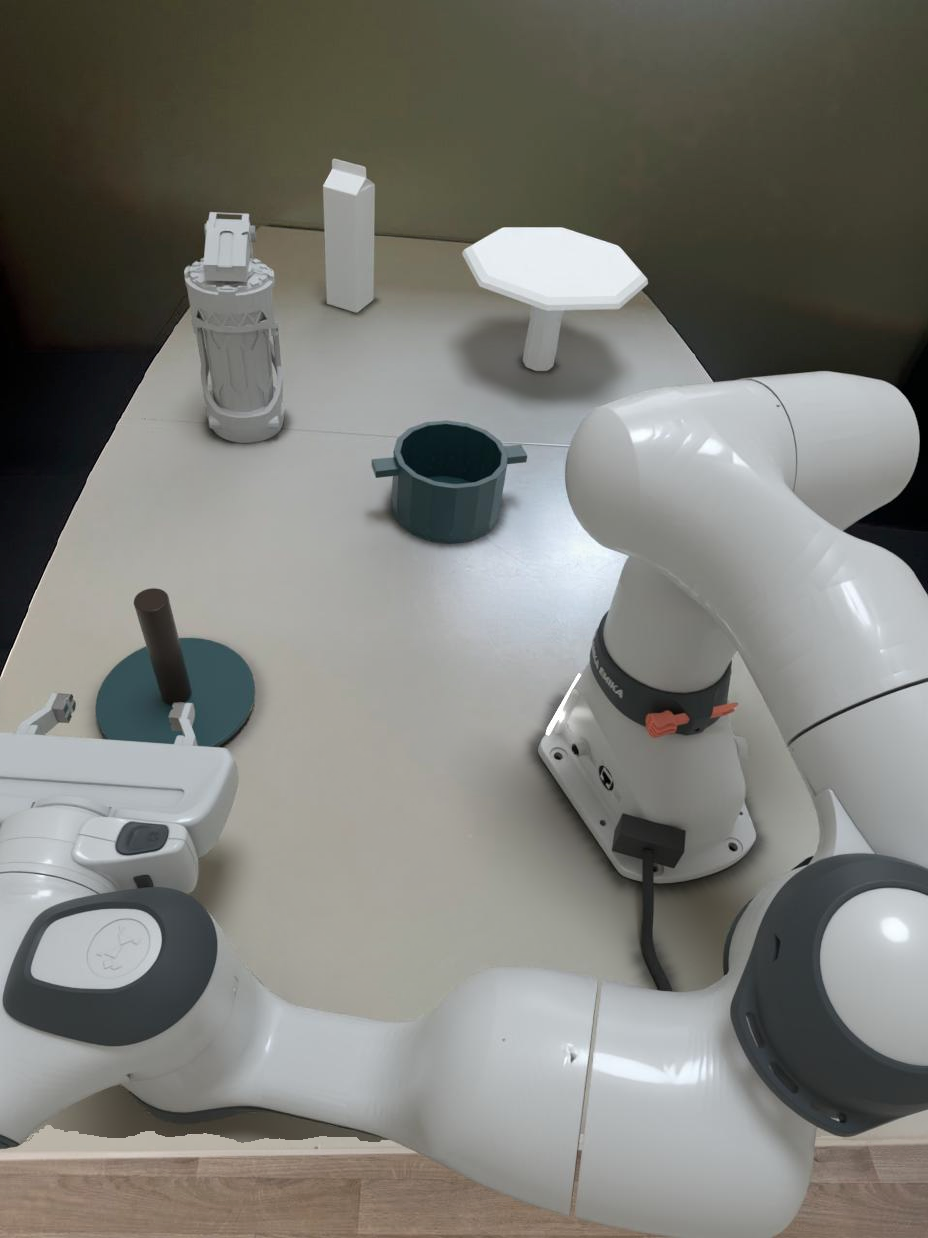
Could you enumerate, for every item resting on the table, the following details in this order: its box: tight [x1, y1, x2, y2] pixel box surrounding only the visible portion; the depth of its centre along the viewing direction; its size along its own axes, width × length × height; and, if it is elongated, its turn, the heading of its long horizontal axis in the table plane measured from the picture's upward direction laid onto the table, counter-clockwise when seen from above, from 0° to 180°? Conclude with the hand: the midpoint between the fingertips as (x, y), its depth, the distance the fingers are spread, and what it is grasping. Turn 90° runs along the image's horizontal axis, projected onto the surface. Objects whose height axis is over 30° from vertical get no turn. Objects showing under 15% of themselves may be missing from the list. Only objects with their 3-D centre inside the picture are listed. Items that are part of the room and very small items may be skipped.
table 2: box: [461, 226, 649, 372], centre depth 124 cm, size 28×28×17 cm
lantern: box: [183, 211, 286, 444], centre depth 102 cm, size 13×10×25 cm
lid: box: [95, 587, 256, 747], centre depth 73 cm, size 15×15×14 cm
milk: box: [322, 158, 376, 314], centre depth 130 cm, size 6×6×22 cm
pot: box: [371, 420, 528, 544], centre depth 99 cm, size 14×19×8 cm
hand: (125, 702), depth 64 cm, fingers open, 8 cm apart
